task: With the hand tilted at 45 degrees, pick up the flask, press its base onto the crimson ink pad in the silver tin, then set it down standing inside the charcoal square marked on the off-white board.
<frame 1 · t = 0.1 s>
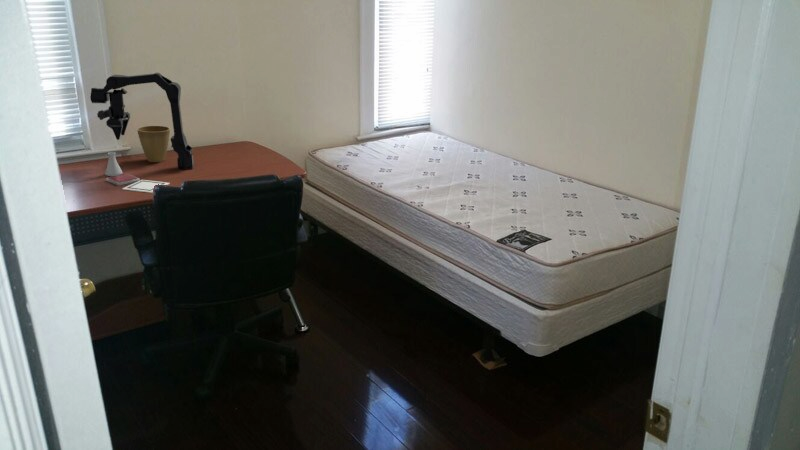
hand: (120, 137, 296), 15 cm above the table, tool pointing down, fingers open, 9 cm apart
plant pot: (156, 160, 316), on the table
flask: (114, 174, 291), on the table
ink pad: (123, 180, 283), on the table
marked board: (146, 186, 277), on the table
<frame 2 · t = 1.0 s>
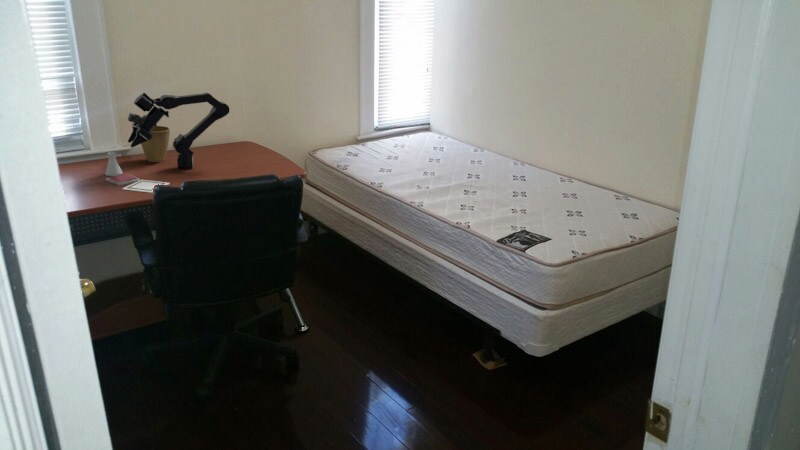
hand: (129, 144, 291), 13 cm above the table, tool tilted 45°, fingers open, 9 cm apart
nothing on the table moved.
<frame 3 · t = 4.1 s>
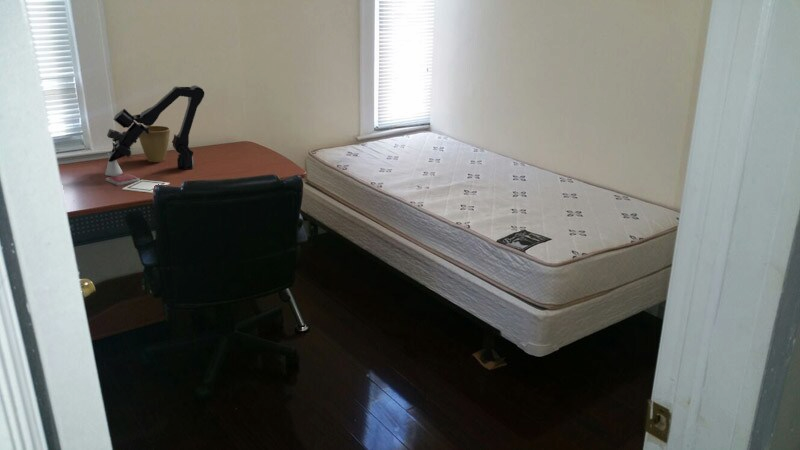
hand: (108, 160, 288), 7 cm above the table, tool tilted 45°, fingers closed on flask, 3 cm apart
flask: (114, 174, 291), on the table, touching gripper
everything else where it was.
when the fingers open (8 cm above the table, at t = 10.7 s): flask drops 1 cm, resting on marked board.
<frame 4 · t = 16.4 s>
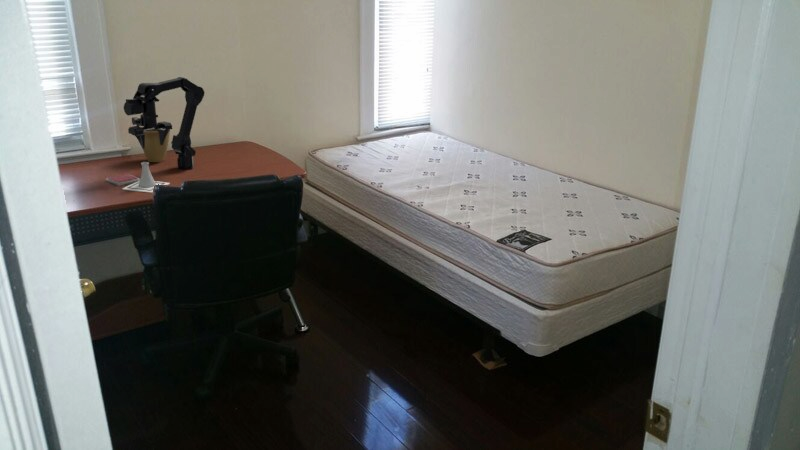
hand: (152, 147, 289), 13 cm above the table, tool pointing down, fingers open, 9 cm apart
flask: (147, 185, 277), resting on marked board
everything else where it was.
at the end: flask 0.4 cm off-centre on the marked board, point 0.2 cm above the marked board's base; flask tilted 0°; the gripper is holding nothing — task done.
